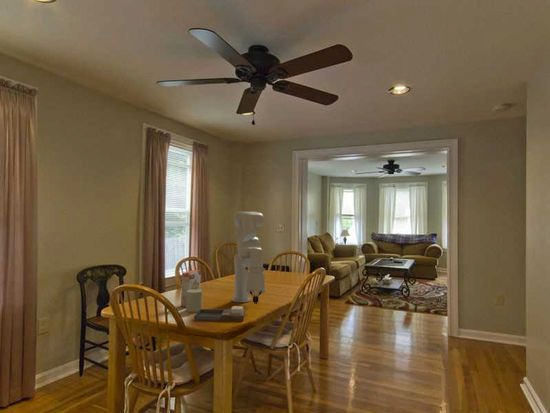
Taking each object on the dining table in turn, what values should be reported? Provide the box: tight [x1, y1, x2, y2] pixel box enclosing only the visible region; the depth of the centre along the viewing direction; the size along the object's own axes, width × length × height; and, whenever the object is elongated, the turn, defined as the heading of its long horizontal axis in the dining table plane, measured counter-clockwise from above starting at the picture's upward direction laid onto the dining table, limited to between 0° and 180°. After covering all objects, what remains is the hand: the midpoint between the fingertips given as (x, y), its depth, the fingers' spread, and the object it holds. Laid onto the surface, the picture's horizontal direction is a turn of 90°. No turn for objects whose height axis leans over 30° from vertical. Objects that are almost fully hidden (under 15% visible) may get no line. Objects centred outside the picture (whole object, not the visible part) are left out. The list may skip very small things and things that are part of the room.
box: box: [193, 308, 225, 322], centre depth 191 cm, size 14×14×2 cm
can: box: [185, 288, 203, 313], centre depth 205 cm, size 9×9×12 cm
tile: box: [230, 305, 244, 314], centre depth 192 cm, size 6×6×2 cm
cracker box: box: [180, 269, 202, 308], centre depth 218 cm, size 14×6×21 cm, turn 163°
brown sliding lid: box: [220, 307, 246, 322], centre depth 191 cm, size 14×12×3 cm
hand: (255, 303), depth 191 cm, fingers closed
